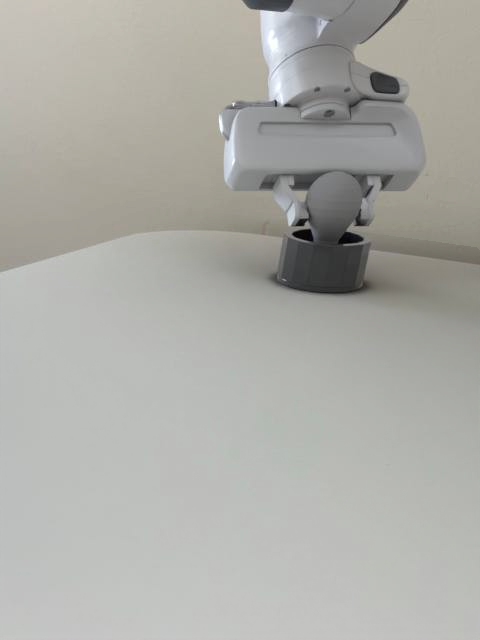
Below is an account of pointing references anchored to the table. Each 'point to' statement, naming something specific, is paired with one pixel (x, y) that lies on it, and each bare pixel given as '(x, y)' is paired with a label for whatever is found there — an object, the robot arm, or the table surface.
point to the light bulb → (333, 206)
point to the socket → (323, 261)
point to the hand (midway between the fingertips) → (332, 223)
